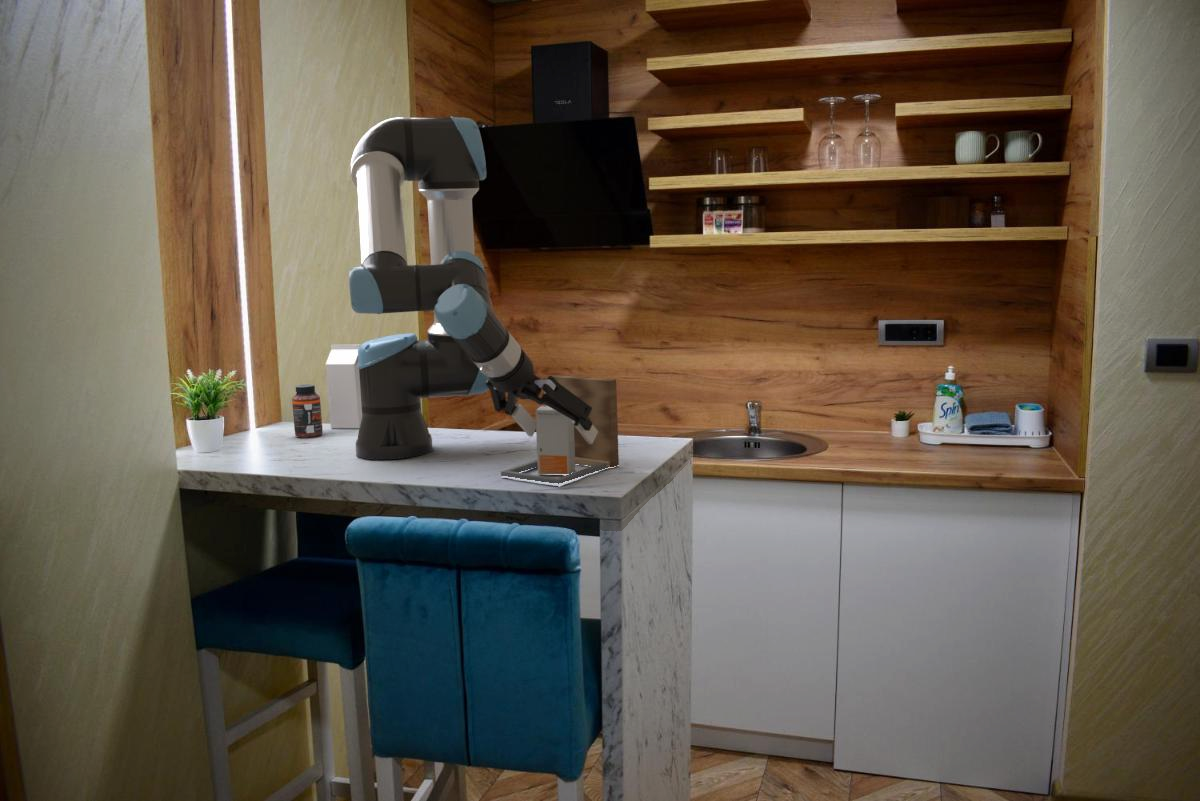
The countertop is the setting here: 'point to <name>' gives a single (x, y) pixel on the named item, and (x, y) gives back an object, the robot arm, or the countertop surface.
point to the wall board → (596, 416)
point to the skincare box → (554, 442)
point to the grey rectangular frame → (594, 464)
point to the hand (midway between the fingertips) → (562, 434)
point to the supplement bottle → (307, 412)
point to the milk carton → (344, 386)
